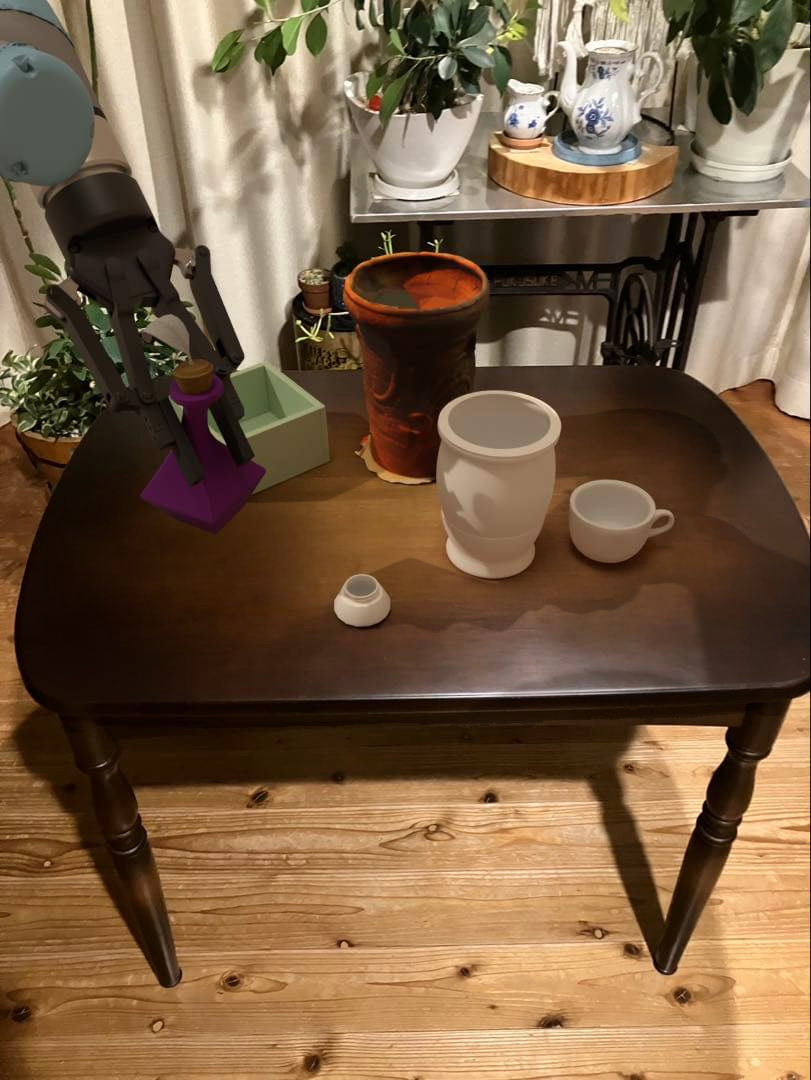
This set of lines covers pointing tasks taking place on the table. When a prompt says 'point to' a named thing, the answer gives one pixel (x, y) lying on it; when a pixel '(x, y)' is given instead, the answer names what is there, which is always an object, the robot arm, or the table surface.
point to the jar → (495, 479)
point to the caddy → (277, 423)
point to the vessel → (413, 352)
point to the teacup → (613, 519)
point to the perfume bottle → (198, 445)
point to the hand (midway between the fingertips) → (222, 471)
